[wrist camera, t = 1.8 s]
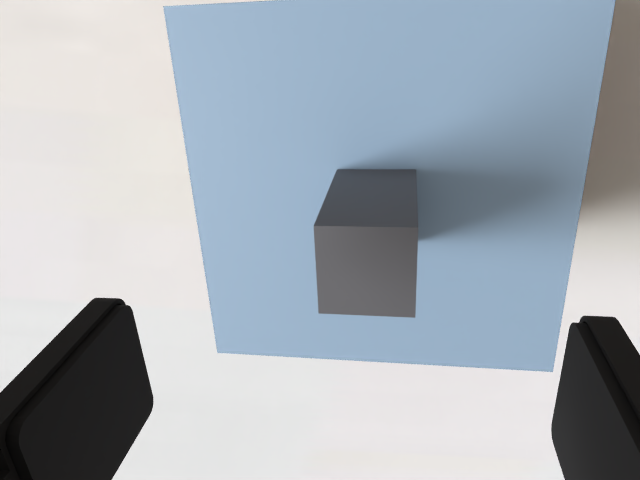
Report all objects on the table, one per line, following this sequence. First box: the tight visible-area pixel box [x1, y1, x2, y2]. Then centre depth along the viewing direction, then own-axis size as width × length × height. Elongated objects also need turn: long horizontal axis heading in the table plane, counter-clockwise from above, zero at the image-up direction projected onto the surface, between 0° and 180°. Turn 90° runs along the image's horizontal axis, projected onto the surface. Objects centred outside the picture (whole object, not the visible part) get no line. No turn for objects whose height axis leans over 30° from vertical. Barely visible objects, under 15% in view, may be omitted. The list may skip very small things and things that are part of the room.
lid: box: [163, 0, 616, 372], centre depth 19 cm, size 15×15×6 cm
